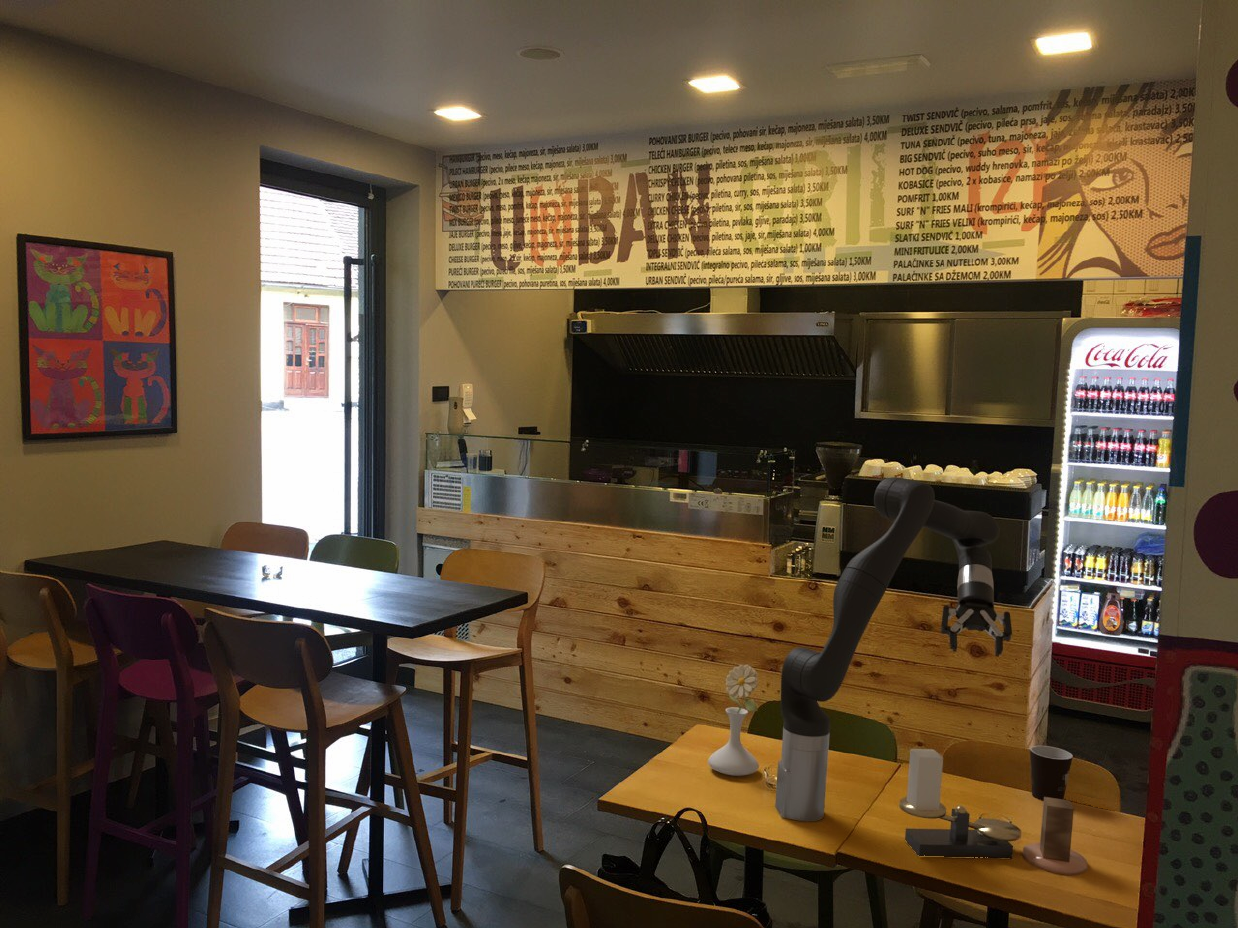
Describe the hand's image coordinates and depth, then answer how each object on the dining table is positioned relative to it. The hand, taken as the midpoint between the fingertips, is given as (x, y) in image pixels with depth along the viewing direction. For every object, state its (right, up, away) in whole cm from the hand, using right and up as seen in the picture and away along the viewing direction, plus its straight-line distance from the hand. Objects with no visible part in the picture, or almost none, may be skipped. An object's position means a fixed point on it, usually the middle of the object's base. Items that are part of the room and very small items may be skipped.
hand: (976, 652), depth 211 cm
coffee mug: (+20, -34, +9) cm, 40 cm away
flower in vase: (-49, -29, +13) cm, 59 cm away
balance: (-11, -33, -22) cm, 41 cm away
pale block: (-18, -24, -23) cm, 38 cm away
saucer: (+6, -34, -24) cm, 43 cm away
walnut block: (+6, -33, -24) cm, 42 cm away
